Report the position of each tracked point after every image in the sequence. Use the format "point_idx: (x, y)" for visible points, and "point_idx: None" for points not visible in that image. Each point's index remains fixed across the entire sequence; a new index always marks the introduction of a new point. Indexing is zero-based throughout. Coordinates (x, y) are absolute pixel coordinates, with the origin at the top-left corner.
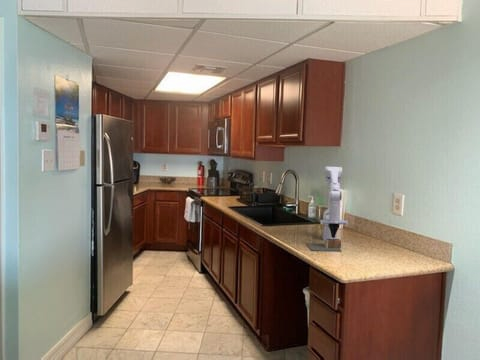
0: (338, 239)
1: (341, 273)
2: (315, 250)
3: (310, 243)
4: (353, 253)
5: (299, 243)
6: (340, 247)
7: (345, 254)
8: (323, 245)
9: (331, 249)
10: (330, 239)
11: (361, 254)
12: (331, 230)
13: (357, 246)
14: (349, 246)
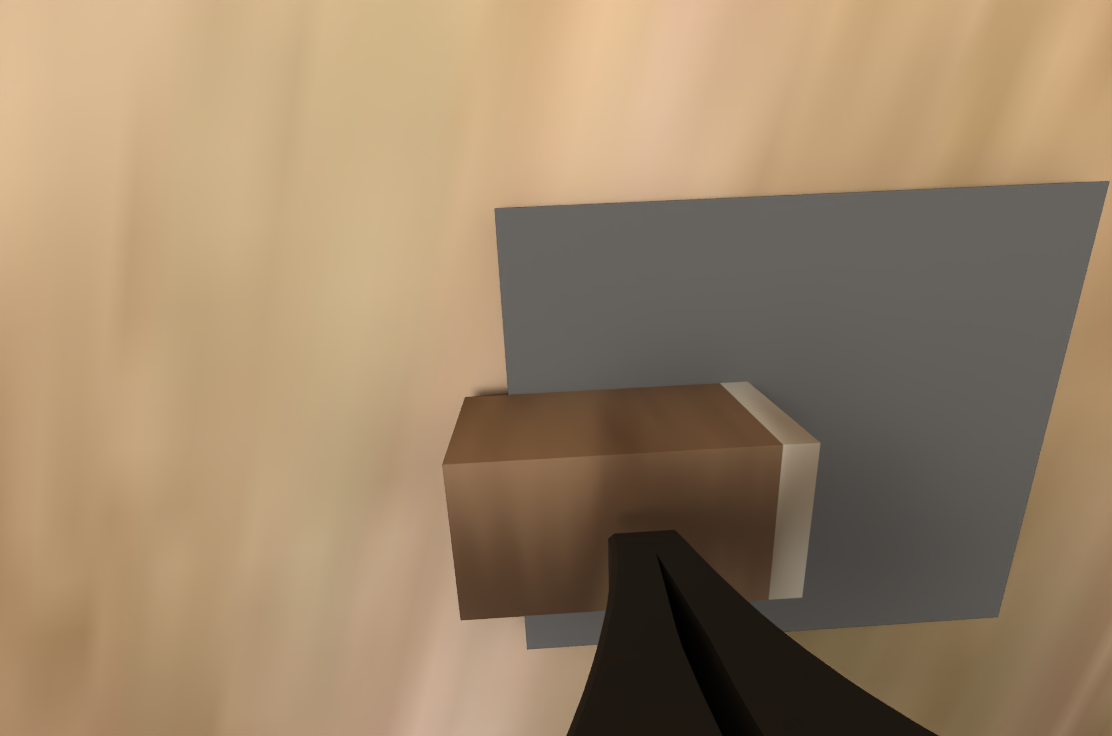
0: (486, 580)
1: None
2: (1019, 186)
3: (928, 612)
4: (262, 127)
5: (1049, 647)
6: (473, 400)
7: (450, 20)
8: None
9: (685, 266)
10: None
11: (94, 61)
12: (852, 689)
13: (134, 616)
14: (275, 598)
